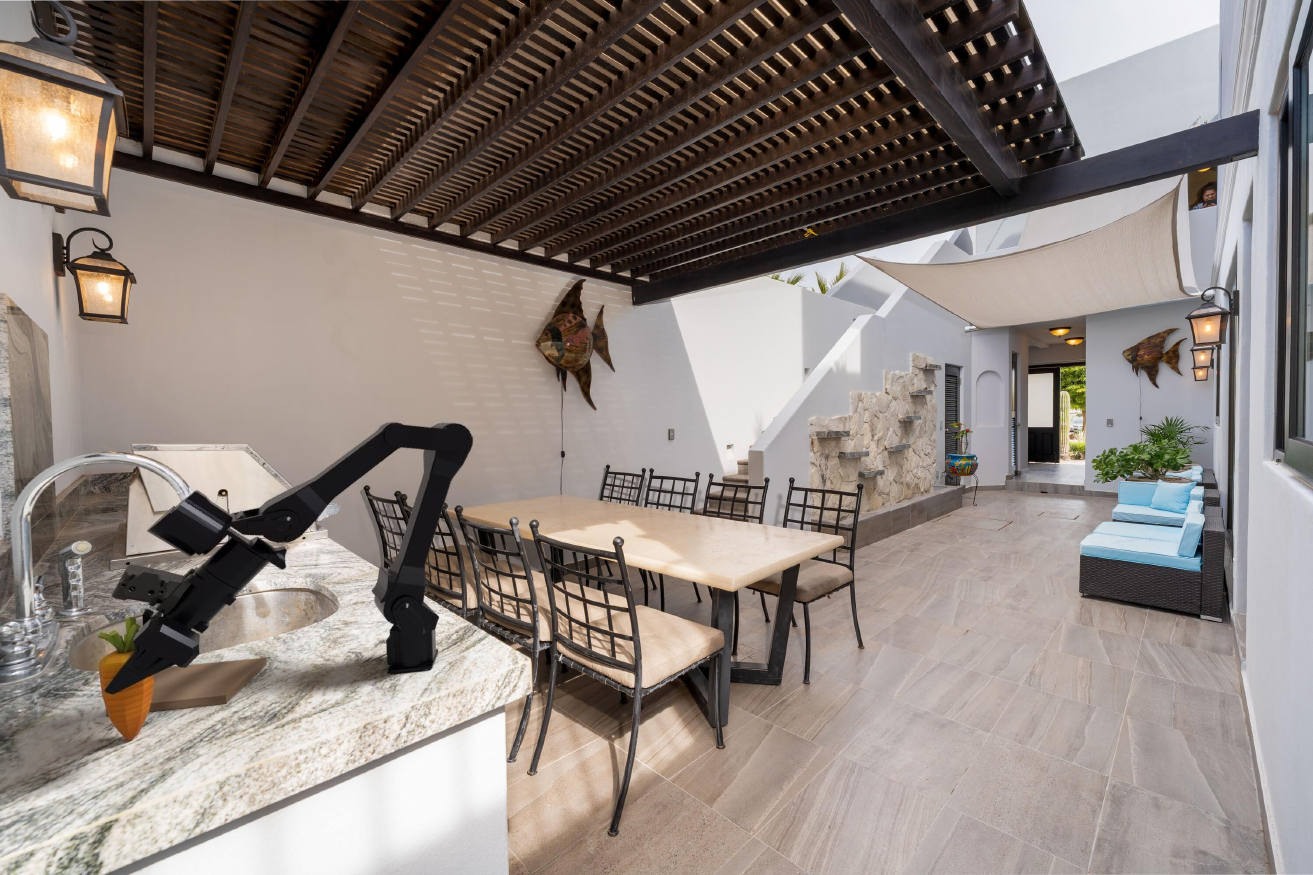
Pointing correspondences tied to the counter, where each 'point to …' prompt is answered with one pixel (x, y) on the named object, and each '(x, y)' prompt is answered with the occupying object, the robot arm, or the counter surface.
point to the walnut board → (202, 683)
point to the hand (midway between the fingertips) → (112, 683)
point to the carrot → (133, 701)
